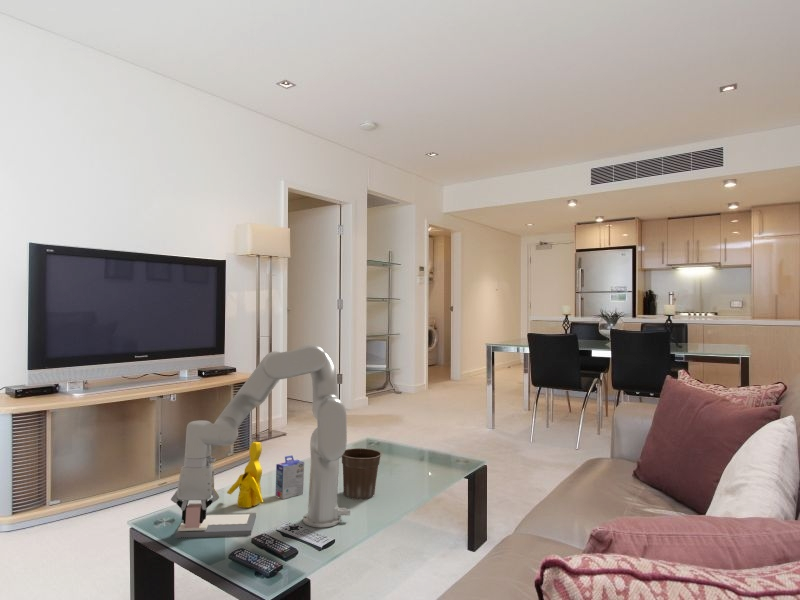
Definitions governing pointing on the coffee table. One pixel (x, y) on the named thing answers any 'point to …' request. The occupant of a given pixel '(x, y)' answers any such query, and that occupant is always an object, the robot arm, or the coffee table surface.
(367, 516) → the coffee table surface
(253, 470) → the figure statuette
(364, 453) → the plant pot
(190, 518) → the stub
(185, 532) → the board
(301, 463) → the ink cartridge box
